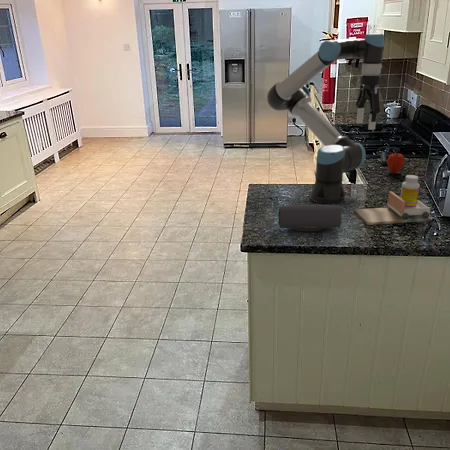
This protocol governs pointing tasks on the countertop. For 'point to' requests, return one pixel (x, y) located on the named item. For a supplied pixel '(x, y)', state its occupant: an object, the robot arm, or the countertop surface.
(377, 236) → the countertop surface
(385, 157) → the door handle
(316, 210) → the bluetooth speaker
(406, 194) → the supplement bottle
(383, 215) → the cutting board
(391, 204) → the cart
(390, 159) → the apple
